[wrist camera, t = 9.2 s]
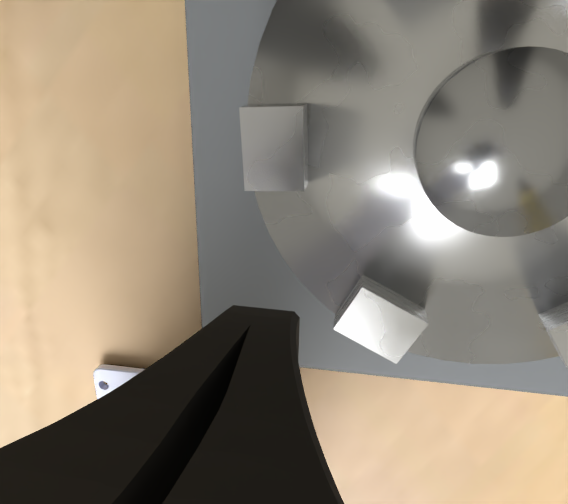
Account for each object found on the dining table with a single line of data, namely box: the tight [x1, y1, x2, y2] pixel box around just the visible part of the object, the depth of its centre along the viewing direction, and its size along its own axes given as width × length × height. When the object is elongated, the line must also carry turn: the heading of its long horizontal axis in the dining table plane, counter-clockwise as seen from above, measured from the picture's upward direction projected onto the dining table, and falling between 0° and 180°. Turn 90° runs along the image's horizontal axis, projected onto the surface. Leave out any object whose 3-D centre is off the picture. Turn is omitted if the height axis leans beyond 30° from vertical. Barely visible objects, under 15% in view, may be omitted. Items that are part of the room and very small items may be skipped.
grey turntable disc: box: [239, 0, 568, 369], centre depth 12 cm, size 15×15×7 cm
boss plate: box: [185, 0, 568, 397], centre depth 16 cm, size 20×20×2 cm
